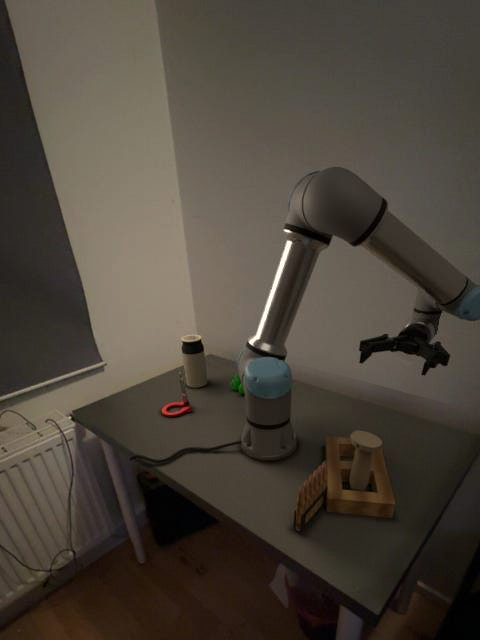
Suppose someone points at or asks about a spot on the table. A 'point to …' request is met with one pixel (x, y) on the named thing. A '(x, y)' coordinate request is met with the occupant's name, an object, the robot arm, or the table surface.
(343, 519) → the table surface
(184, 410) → the tow hook
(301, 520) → the ammunition clip
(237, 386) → the green lumpy cluster
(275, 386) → the robot arm
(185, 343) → the travel mug
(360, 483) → the handle
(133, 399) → the table surface
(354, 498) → the rack
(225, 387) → the table surface
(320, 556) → the table surface
